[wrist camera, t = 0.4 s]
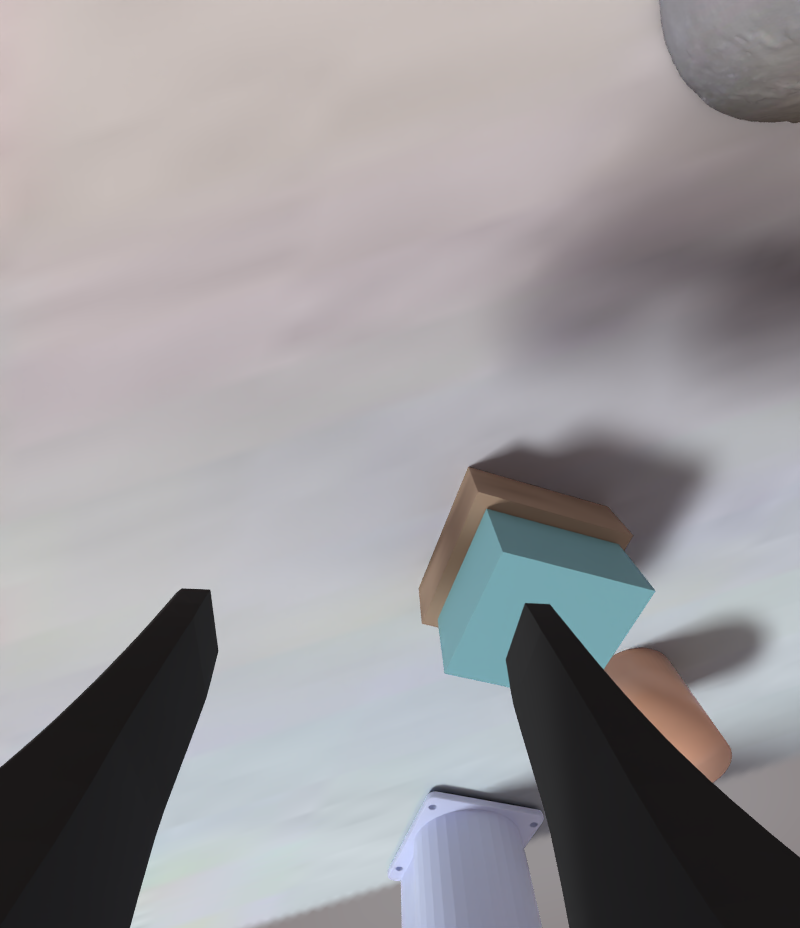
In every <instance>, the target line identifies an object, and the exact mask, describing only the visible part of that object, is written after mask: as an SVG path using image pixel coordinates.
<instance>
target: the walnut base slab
mask: <svg viewBox="0 0 800 928" xmlns="http://www.w3.org/2000/svg"><path fill="white" fill-rule="evenodd" d="M486 509H490V510H494V511H497V512H501V513H505V514H508V515H512V516H516V517H519V518H523V519H527V520H531V521H534V522H538V523H542V524H545V525H549V526H553V527H557V528H560V529H564V530H568V531H571V532H575V533H579V534H583V535H586V536H590V537H594V538H597V539H601V540H605V541H609V542H612V543H616V544H619V545H620V547H621V548H622V549H623V550H625V548H626V547H627V545H628V543H629V542H630V540H631V538H632V537H633V535H632V534H631V532H630V531H629V530H628V529H627V528H626V527H625V526H624V525H623V523H622V522H621V521H620V520H619V519H618V518H617V517H616V516H615V514H614V513H613V512H612V511H611V510H610V509H609V508H608V507H607V506H603V505H600V504H596V503H593V502H589V501H586V500H583V499H579V498H576V497H572V496H569V495H565V494H562V493H558V492H555V491H551V490H548V489H544V488H541V487H537V486H534V485H530V484H527V483H523V482H520V481H516V480H513V479H509V478H506V477H502V476H499V475H495V474H492V473H488V472H485V471H481V470H478V469H474V468H471V467H468V469H467V471H466V474H465V476H464V479H463V481H462V484H461V486H460V488H459V491H458V493H457V496H456V498H455V501H454V503H453V506H452V508H451V511H450V513H449V515H448V518H447V520H446V523H445V525H444V528H443V530H442V533H441V535H440V538H439V540H438V542H437V545H436V547H435V550H434V552H433V555H432V557H431V560H430V562H429V565H428V567H427V569H426V572H425V574H424V577H423V579H422V582H421V584H420V587H419V597H420V608H421V619H422V624H426V625H430V626H434V627H439V626H438V617H439V615H440V613H441V610H442V608H443V606H444V604H445V601H446V599H447V597H448V595H449V592H450V590H451V588H452V585H453V583H454V581H455V579H456V576H457V574H458V572H459V570H460V567H461V565H462V563H463V561H464V558H465V556H466V554H467V551H468V549H469V547H470V545H471V542H472V540H473V538H474V536H475V533H476V531H477V529H478V526H479V524H480V522H481V520H482V517H483V515H484V513H485V511H486Z"/></svg>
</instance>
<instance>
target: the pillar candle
mask: <svg viewBox="0 0 800 928" xmlns="http://www.w3.org/2000/svg"><path fill="white" fill-rule="evenodd" d="M659 2H660V14H661V24H662V29H663V34H664V38H665V43H666V46H667V48H668V51H669V53H670V55H671V57H672V60H673V63H674V64H675V66H676V68H677V70H678V71H679V74H680V76H681V77H682V78H683V80H684V81H685V82H686V84H687V85H688V86H689V87H690V88H691V89H693V91H694V92H695V93H697V94H698V95H699V97H700V98H701V99H702V100H703V101H704V102H705V103H707V104H708V105H709V106H710V107H712V108H714V109H716V110H718V111H720V112H722V113H724V114H727V115H729V116H732V117H735V118H738V119H743V120H747V121H754V122H756V121H759V122H780V121H789V122H791V123H798V122H800V0H659Z"/></svg>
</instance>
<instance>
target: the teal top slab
mask: <svg viewBox="0 0 800 928" xmlns="http://www.w3.org/2000/svg"><path fill="white" fill-rule="evenodd" d="M654 593H655V590H654V588H653V587H652V586H651V585H650V583H649V582H648V581H647V580H646V578H645V577H644V576H643V575H642V573H641V572H640V571H639V569H638V568H637V567H636V566H635V564H634V563H633V562H632V561H631V559H630V558H629V557H628V555H627V554H626V553H625V552H624V550H623V549H622V548H621V547H620V545H619V544H616V543H612V542H609V541H605V540H601V539H597V538H594V537H590V536H586V535H583V534H579V533H575V532H571V531H568V530H564V529H560V528H557V527H553V526H549V525H545V524H542V523H538V522H534V521H531V520H527V519H523V518H519V517H516V516H512V515H508V514H505V513H501V512H497V511H494V510H490V509H486V511H485V513H484V515H483V517H482V520H481V522H480V524H479V526H478V529H477V531H476V533H475V536H474V538H473V540H472V542H471V545H470V547H469V549H468V551H467V554H466V556H465V558H464V561H463V563H462V565H461V567H460V570H459V572H458V574H457V576H456V579H455V581H454V583H453V585H452V588H451V590H450V592H449V595H448V597H447V599H446V601H445V604H444V606H443V608H442V610H441V613H440V615H439V617H438V626H439V634H440V642H441V650H442V657H443V665H444V673H445V674H449V675H454V676H459V677H463V678H468V679H473V680H477V681H482V682H487V683H491V684H496V685H501V686H505V687H510V684H509V677H508V671H507V665H506V657H507V654H508V651H509V648H510V645H511V642H512V639H513V636H514V633H515V630H516V627H517V625H518V622H519V619H520V616H521V613H522V610H523V607H524V604H525V603H538V604H550V605H551V606H552V607H553V609H554V610H555V611H556V612H557V613H558V615H559V616H560V617H561V618H562V620H563V621H564V622H565V623H566V624H567V626H568V627H569V628H570V629H571V631H572V632H573V633H574V634H575V636H576V637H577V638H578V639H579V640H580V642H581V643H582V644H583V645H584V647H585V648H586V649H587V650H588V651H589V653H590V654H591V655H592V656H593V657H594V659H595V660H596V661H597V662H598V663H599V665H600V666H601V667H602V668H603V669H604V668H605V667H606V665H607V664H608V662H609V661H610V659H611V658H612V656H613V655H614V653H615V652H616V650H617V649H618V647H619V645H620V644H621V642H622V641H623V639H624V638H625V636H626V635H627V633H628V632H629V630H630V629H631V627H632V626H633V624H634V623H635V621H636V620H637V618H638V617H639V615H640V614H641V612H642V611H643V609H644V608H645V606H646V605H647V603H648V602H649V600H650V599H651V597H652V596H653V594H654Z"/></svg>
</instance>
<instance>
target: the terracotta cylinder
mask: <svg viewBox="0 0 800 928" xmlns="http://www.w3.org/2000/svg"><path fill="white" fill-rule="evenodd" d="M604 671H605V672H606V673H607V674H608V675H609V676H610V677H611V679H612V680H613V681H614V682H615V683H616V684H617V686H618V687H619V688H620V689H621V690H622V691H623V692H624V694H625V695H626V696H627V697H628V698H629V699H630V700H631V701H632V703H633V704H634V705H635V706H636V707H637V708H638V709H639V710H640V711H641V712H642V713H643V714H644V715H645V717H646V718H647V719H648V720H649V721H650V722H651V723H652V724H653V725H654V726H655V727H656V728H657V729H658V730H659V731H660V732H661V733H662V734H663V735H664V737H665V738H666V739H667V740H668V741H669V742H670V743H671V744H672V745H673V746H674V747H675V748H676V749H677V750H678V751H680V752H681V753H682V754H683V755H684V756H685V757H686V758H687V759H688V760H689V761H690V762H691V763H692V764H693V765H694V766H695V767H696V768H697V769H698V770H699V771H700V772H702V773H703V774H704V775H705V776H706V777H707V778H708V779H709V780H710V781H711V782H712V783H713V782H715V781H716V780H717V779H718V778H720V777H721V776H722V775H723V774H724V773H725V771H726V770H727V769H728V767H729V765H730V763H731V759H732V752H731V749H730V746H729V745H728V743H727V742H726V741H725V739H724V738H723V736H722V735H721V733H720V732H719V731H718V729H717V728H716V726H715V725H714V724H713V722H712V721H711V719H710V718H709V716H708V715H707V714H706V712H705V711H704V709H703V708H702V706H701V705H700V704H699V702H698V701H697V699H696V698H695V697H694V695H693V694H692V692H691V691H690V689H689V688H688V687H687V685H686V684H685V682H684V681H683V679H682V678H681V677H680V675H679V674H678V672H677V671H676V670H675V668H674V667H673V665H672V664H671V662H670V661H669V660H668V658H667V657H666V656H665V655H664V654H662V653H660V652H658V651H656V650H653V649H648V648H634V649H629V650H625V651H622V652H619V653H617V654H615V655H613V656H612V658H611V659H610V661H609V662H608V664H607V665H606V667H605V668H604Z"/></svg>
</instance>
